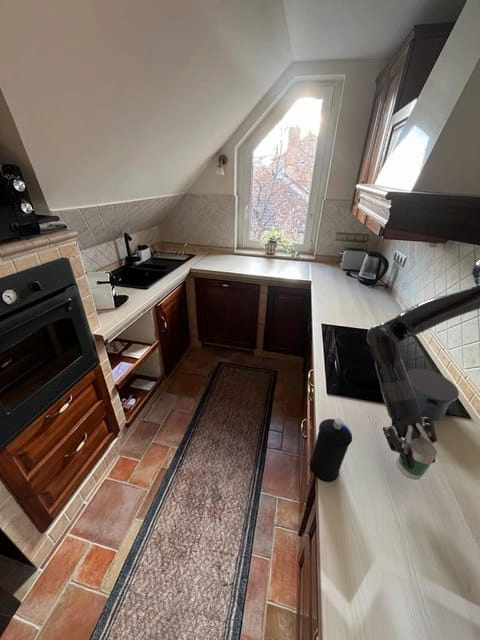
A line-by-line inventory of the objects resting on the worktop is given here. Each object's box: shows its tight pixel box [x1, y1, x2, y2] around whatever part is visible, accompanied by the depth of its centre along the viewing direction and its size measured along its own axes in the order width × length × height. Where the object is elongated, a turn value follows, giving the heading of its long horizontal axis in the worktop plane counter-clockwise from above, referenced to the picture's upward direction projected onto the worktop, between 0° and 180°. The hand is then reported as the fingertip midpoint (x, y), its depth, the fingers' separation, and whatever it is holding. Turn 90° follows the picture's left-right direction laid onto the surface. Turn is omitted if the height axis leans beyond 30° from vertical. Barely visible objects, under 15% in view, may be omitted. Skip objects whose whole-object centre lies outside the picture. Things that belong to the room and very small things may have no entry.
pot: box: [406, 368, 460, 421], centre depth 92 cm, size 16×18×10 cm
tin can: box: [396, 437, 438, 481], centre depth 65 cm, size 6×6×10 cm
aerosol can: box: [309, 417, 353, 483], centre depth 68 cm, size 8×8×20 cm
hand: (420, 465), depth 64 cm, fingers closed on tin can, 6 cm apart
